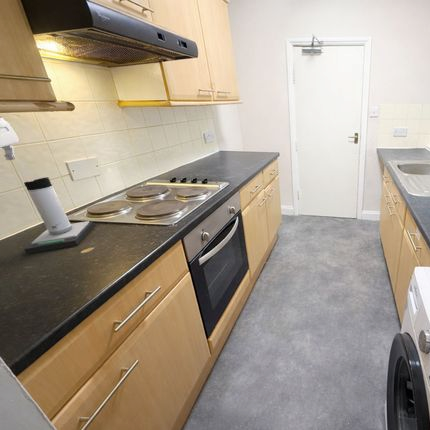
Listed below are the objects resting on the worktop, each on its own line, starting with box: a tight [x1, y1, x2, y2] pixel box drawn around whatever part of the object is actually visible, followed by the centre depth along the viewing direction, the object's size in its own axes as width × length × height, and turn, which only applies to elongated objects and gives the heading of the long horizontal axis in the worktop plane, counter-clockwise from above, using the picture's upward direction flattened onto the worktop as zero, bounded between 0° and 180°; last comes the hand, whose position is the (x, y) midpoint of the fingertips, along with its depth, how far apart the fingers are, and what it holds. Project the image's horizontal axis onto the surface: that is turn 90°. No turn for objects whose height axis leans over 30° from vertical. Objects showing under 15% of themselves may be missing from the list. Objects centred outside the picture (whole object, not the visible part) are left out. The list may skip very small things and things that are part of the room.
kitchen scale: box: [24, 220, 96, 255], centre depth 97 cm, size 14×16×3 cm
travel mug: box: [23, 176, 72, 234], centre depth 93 cm, size 6×7×20 cm
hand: (2, 163), depth 84 cm, fingers open, 8 cm apart
